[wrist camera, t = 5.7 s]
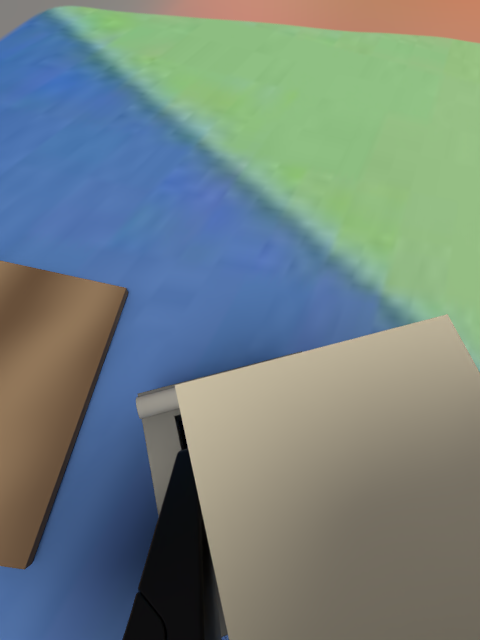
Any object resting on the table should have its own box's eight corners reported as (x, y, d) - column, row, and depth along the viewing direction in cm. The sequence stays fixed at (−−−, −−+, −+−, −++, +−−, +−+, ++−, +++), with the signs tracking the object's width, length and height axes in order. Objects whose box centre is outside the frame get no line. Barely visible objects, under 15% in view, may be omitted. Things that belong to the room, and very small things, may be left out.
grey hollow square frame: (331, 531, 15) (392, 571, 10) (185, 593, 13) (181, 674, 9) (278, 370, 17) (308, 346, 13) (150, 404, 16) (133, 390, 11)
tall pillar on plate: (291, 506, 15) (711, 794, 3) (212, 537, 14) (340, 1164, 2) (260, 405, 16) (448, 314, 4) (188, 426, 15) (174, 385, 3)
